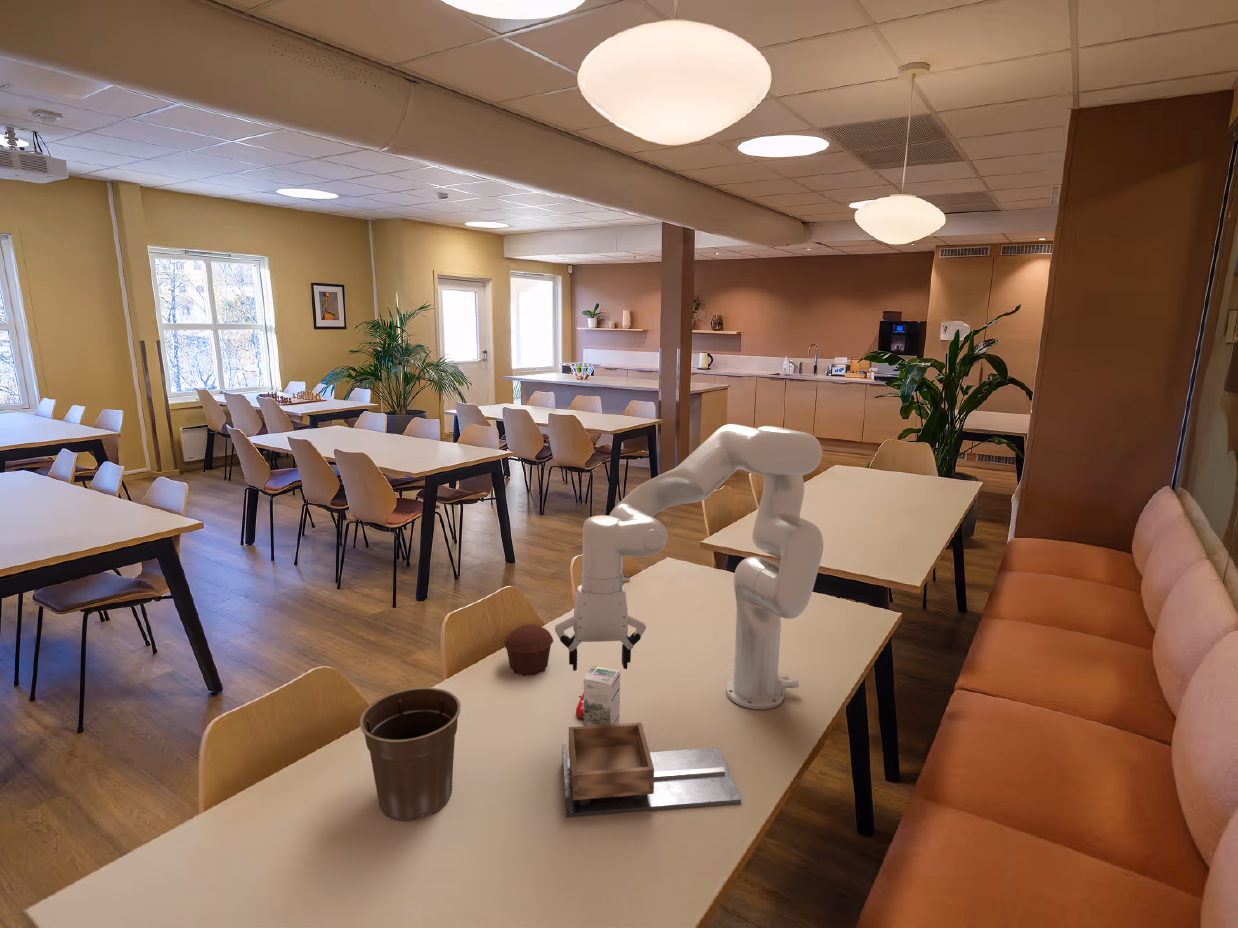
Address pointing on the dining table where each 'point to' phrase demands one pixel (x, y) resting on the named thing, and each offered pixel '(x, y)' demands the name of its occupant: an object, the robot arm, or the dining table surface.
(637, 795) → the open wooden crate
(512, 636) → the muffin
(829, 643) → the dining table surface
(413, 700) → the plant pot
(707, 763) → the track
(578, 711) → the race car
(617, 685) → the syrup box
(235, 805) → the dining table surface
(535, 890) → the dining table surface
